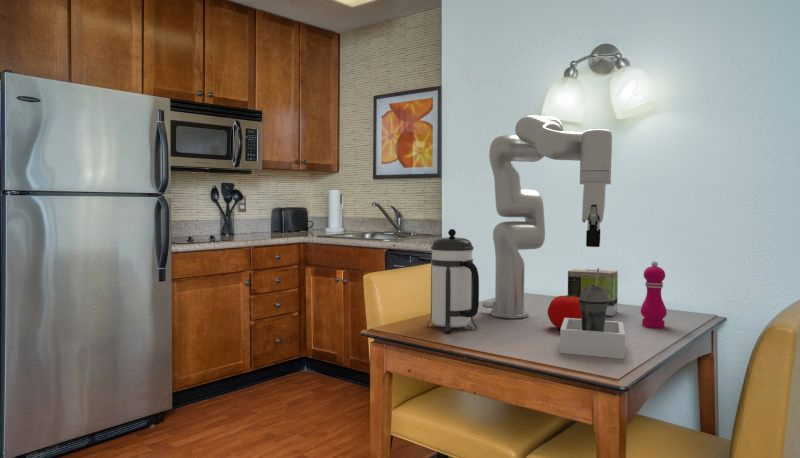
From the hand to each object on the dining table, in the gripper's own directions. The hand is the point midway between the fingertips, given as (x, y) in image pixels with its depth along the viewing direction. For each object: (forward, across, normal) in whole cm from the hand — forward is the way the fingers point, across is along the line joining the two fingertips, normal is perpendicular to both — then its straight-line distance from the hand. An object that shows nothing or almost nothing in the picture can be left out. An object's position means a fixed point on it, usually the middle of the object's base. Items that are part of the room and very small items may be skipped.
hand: (593, 245), depth 140 cm
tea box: (+28, -50, 0) cm, 57 cm away
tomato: (+28, -20, -6) cm, 35 cm away
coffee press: (+28, -8, -38) cm, 48 cm away
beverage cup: (+26, +1, +1) cm, 26 cm away
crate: (+27, +1, 0) cm, 27 cm away
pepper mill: (+27, -34, +18) cm, 47 cm away
